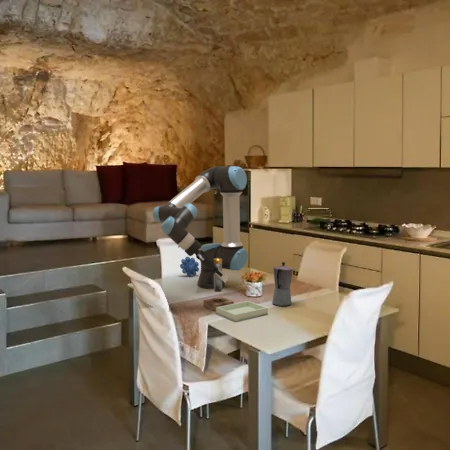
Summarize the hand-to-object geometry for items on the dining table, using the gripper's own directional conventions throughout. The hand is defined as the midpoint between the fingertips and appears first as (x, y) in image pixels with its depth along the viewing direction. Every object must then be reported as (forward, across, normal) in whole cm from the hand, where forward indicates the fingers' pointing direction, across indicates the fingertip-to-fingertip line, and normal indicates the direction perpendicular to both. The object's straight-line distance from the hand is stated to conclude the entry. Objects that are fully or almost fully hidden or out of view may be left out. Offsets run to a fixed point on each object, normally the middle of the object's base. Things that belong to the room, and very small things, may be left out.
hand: (226, 279), depth 229 cm
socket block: (+7, 0, -12) cm, 14 cm away
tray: (+13, +12, -5) cm, 19 cm away
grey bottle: (+1, 0, -6) cm, 7 cm away
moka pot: (+29, -1, +9) cm, 30 cm away
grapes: (0, -64, -20) cm, 67 cm away
